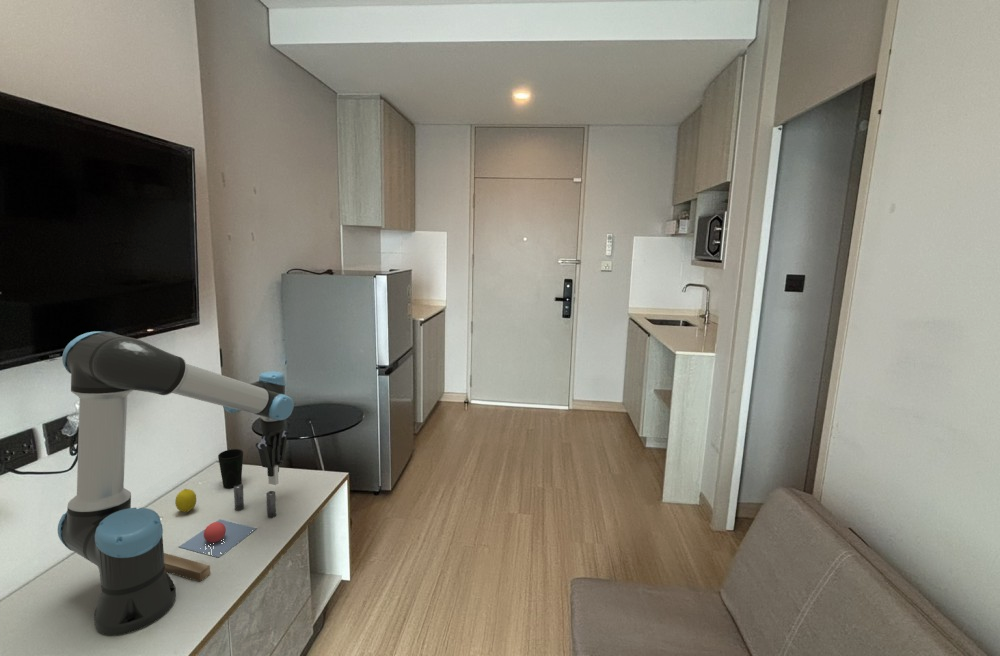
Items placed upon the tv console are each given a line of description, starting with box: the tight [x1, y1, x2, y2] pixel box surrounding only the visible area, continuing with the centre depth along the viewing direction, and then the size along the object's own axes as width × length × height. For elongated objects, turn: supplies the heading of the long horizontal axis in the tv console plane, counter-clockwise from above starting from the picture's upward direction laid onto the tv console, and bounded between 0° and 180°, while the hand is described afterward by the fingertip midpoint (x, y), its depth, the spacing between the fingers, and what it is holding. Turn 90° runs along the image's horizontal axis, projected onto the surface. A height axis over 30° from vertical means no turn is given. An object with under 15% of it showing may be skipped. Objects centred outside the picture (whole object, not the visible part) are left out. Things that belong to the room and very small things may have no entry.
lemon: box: [174, 488, 197, 513], centre depth 145 cm, size 6×6×8 cm
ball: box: [204, 521, 226, 543], centre depth 132 cm, size 6×6×6 cm
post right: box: [266, 490, 277, 519], centre depth 145 cm, size 3×3×8 cm
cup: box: [217, 448, 244, 490], centre depth 162 cm, size 8×8×12 cm
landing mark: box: [178, 519, 258, 559], centre depth 134 cm, size 14×14×1 cm
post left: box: [233, 483, 245, 512], centre depth 148 cm, size 3×3×8 cm
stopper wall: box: [164, 552, 211, 582], centre depth 121 cm, size 3×20×2 cm, turn 76°
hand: (273, 483), depth 155 cm, fingers closed
